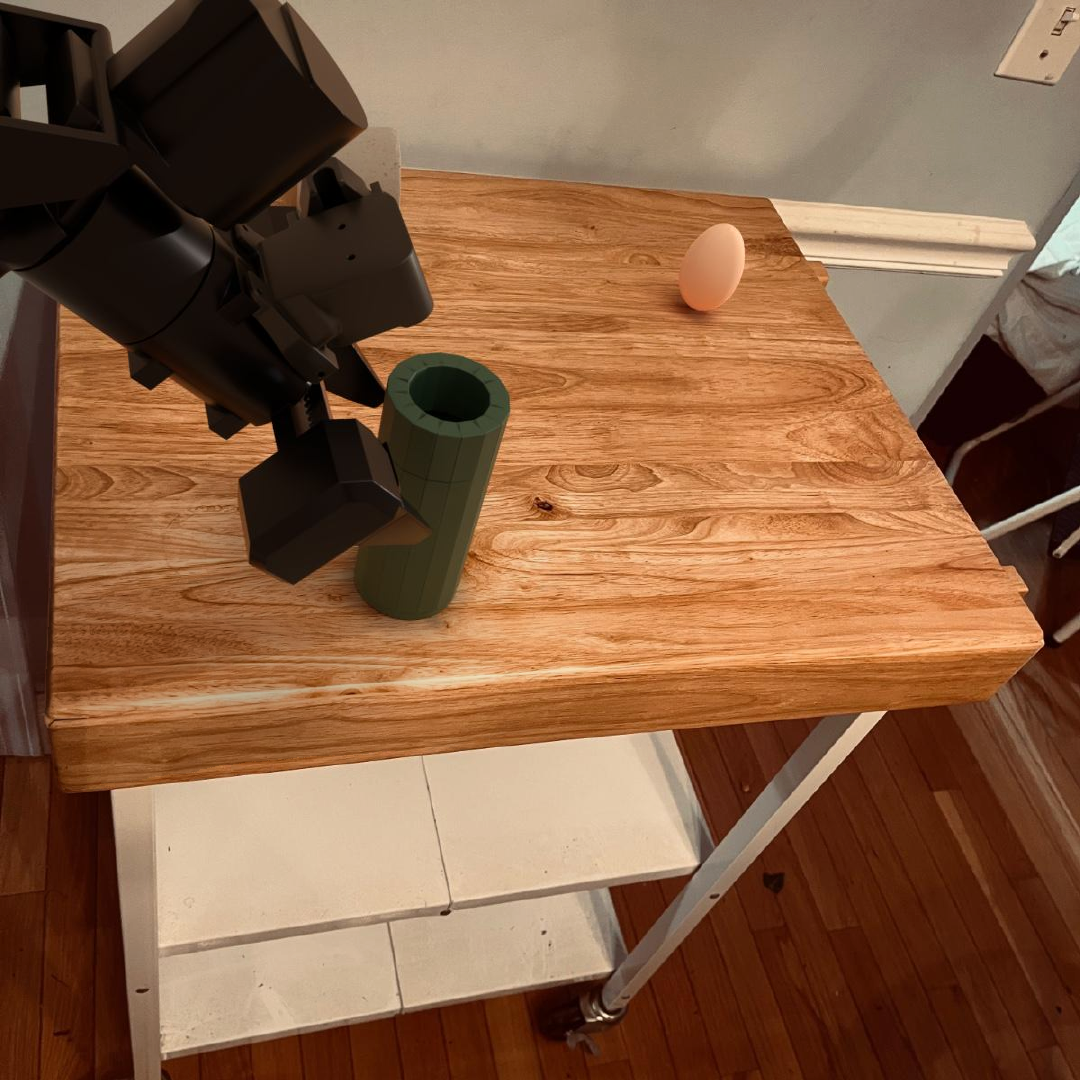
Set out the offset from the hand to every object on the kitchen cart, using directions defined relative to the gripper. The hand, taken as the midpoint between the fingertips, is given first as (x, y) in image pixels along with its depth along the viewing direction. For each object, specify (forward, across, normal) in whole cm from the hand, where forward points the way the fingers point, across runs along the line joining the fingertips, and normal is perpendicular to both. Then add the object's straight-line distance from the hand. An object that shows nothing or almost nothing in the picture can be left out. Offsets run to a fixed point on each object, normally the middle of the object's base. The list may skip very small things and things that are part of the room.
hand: (401, 465), depth 53 cm
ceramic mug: (+10, +32, +4) cm, 34 cm away
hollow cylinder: (+8, 0, +5) cm, 9 cm away
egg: (+29, +24, -15) cm, 40 cm away
